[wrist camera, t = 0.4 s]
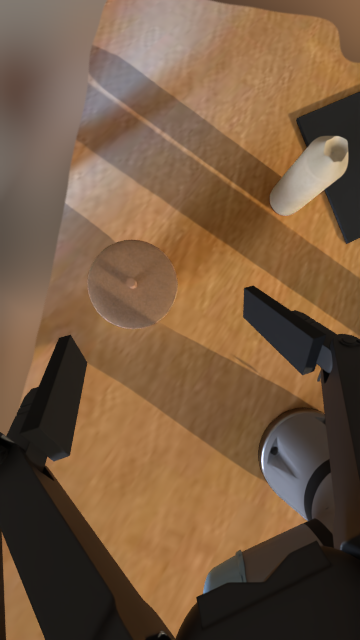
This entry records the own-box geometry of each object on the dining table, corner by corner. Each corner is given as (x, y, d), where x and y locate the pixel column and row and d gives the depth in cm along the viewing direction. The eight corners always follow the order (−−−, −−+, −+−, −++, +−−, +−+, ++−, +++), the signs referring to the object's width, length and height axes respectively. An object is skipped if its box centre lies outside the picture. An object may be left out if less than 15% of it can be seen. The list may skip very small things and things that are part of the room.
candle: (291, 222, 33) (347, 181, 23) (263, 205, 32) (307, 157, 22) (306, 192, 33) (367, 139, 23) (278, 176, 32) (328, 114, 22)
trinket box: (139, 243, 31) (128, 213, 22) (188, 290, 32) (198, 280, 22) (91, 293, 31) (59, 283, 21) (142, 339, 32) (133, 349, 22)
